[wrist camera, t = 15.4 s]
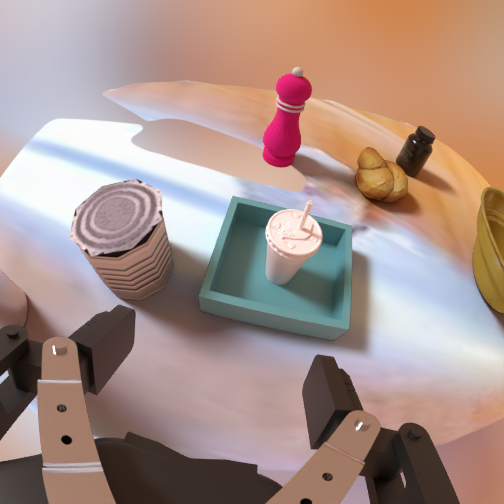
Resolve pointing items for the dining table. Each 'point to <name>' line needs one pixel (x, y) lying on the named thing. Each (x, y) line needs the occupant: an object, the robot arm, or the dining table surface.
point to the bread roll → (380, 177)
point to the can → (125, 238)
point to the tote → (272, 295)
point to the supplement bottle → (416, 151)
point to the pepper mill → (286, 119)
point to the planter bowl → (490, 248)
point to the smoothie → (290, 243)
